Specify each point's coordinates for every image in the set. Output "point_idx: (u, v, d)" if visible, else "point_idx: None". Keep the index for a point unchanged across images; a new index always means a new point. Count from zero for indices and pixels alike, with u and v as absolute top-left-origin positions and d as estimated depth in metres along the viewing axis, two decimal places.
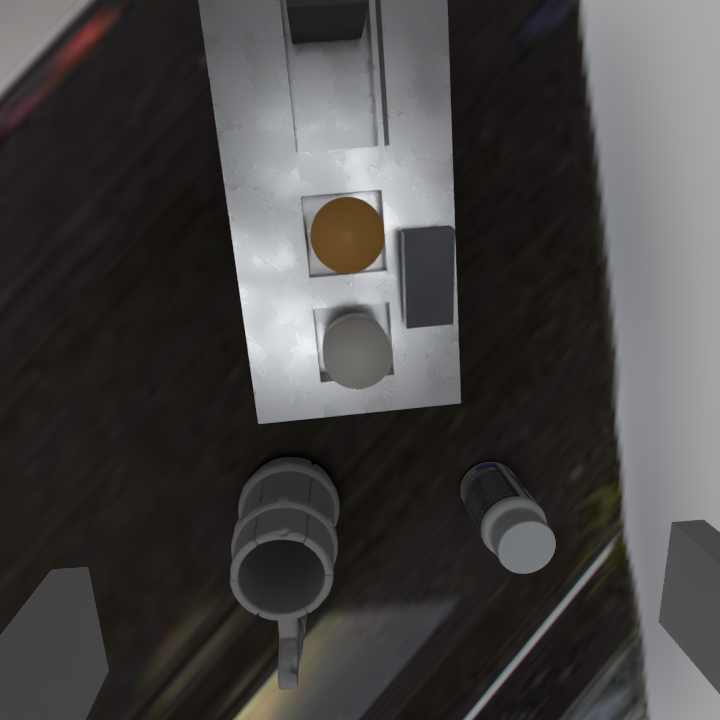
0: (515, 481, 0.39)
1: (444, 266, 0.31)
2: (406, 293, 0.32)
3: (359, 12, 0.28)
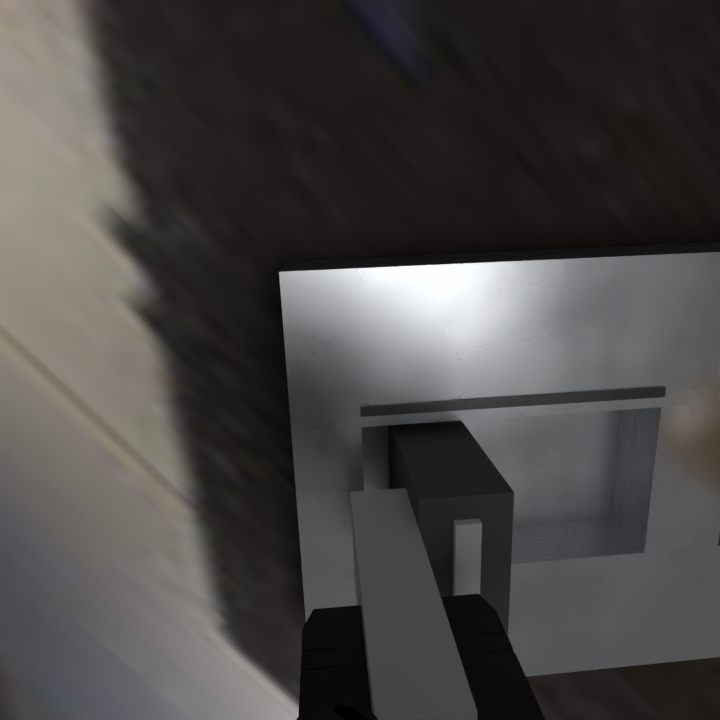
0: None
1: None
2: None
3: None
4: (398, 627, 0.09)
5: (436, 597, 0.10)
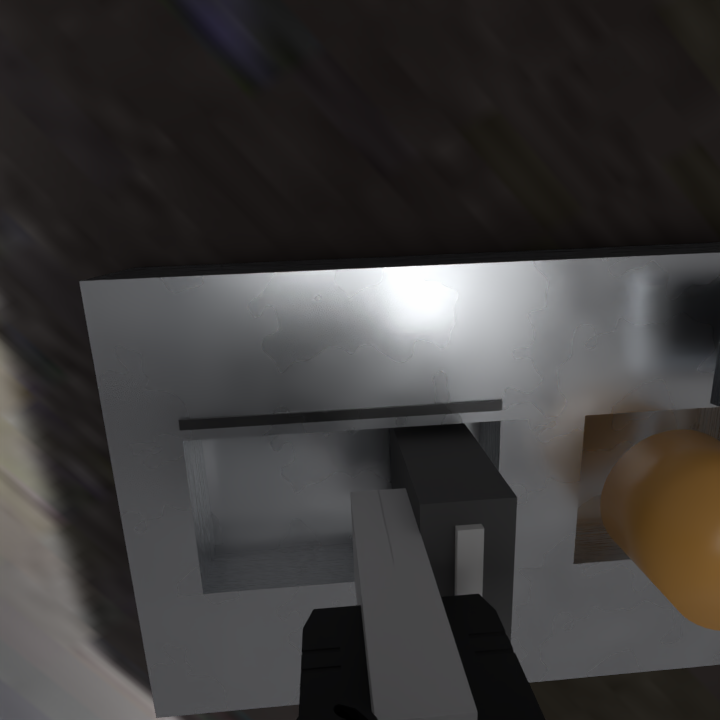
0: None
1: None
2: None
3: None
4: (398, 627, 0.09)
5: (436, 597, 0.10)
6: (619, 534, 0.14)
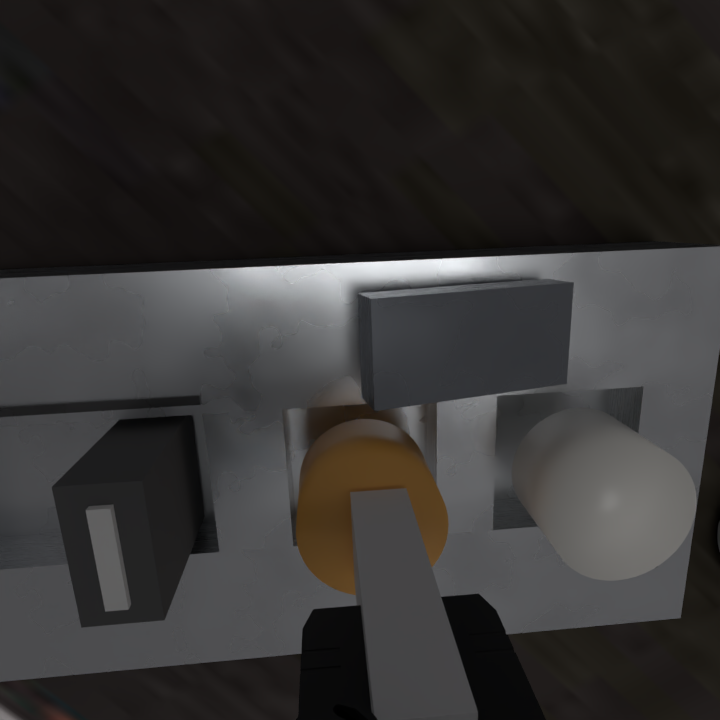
0: None
1: (449, 314, 0.14)
2: (496, 391, 0.15)
3: (158, 472, 0.14)
4: (398, 627, 0.09)
5: (436, 597, 0.10)
6: None
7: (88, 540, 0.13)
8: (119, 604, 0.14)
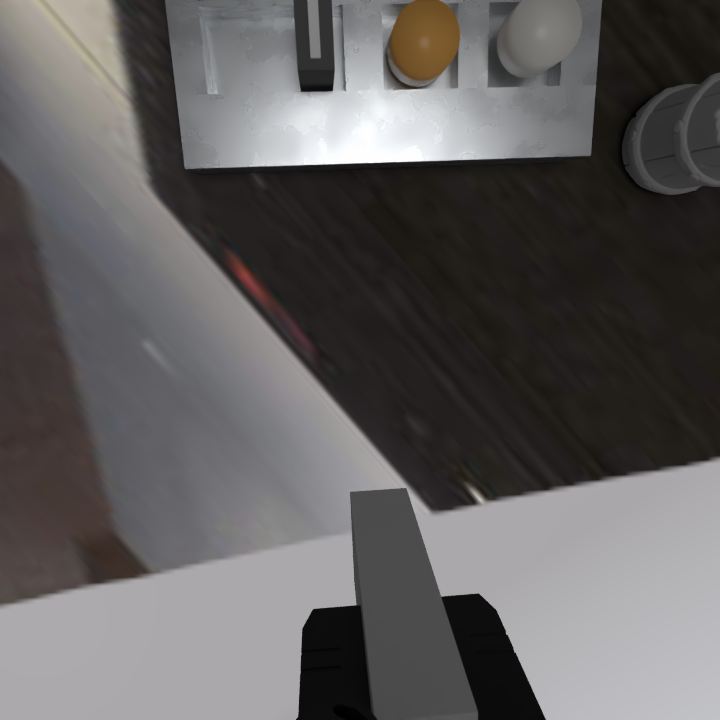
0: None
1: None
2: None
3: None
4: (397, 627, 0.09)
5: (436, 597, 0.10)
6: (389, 56, 0.34)
7: (305, 20, 0.30)
8: (317, 54, 0.30)
